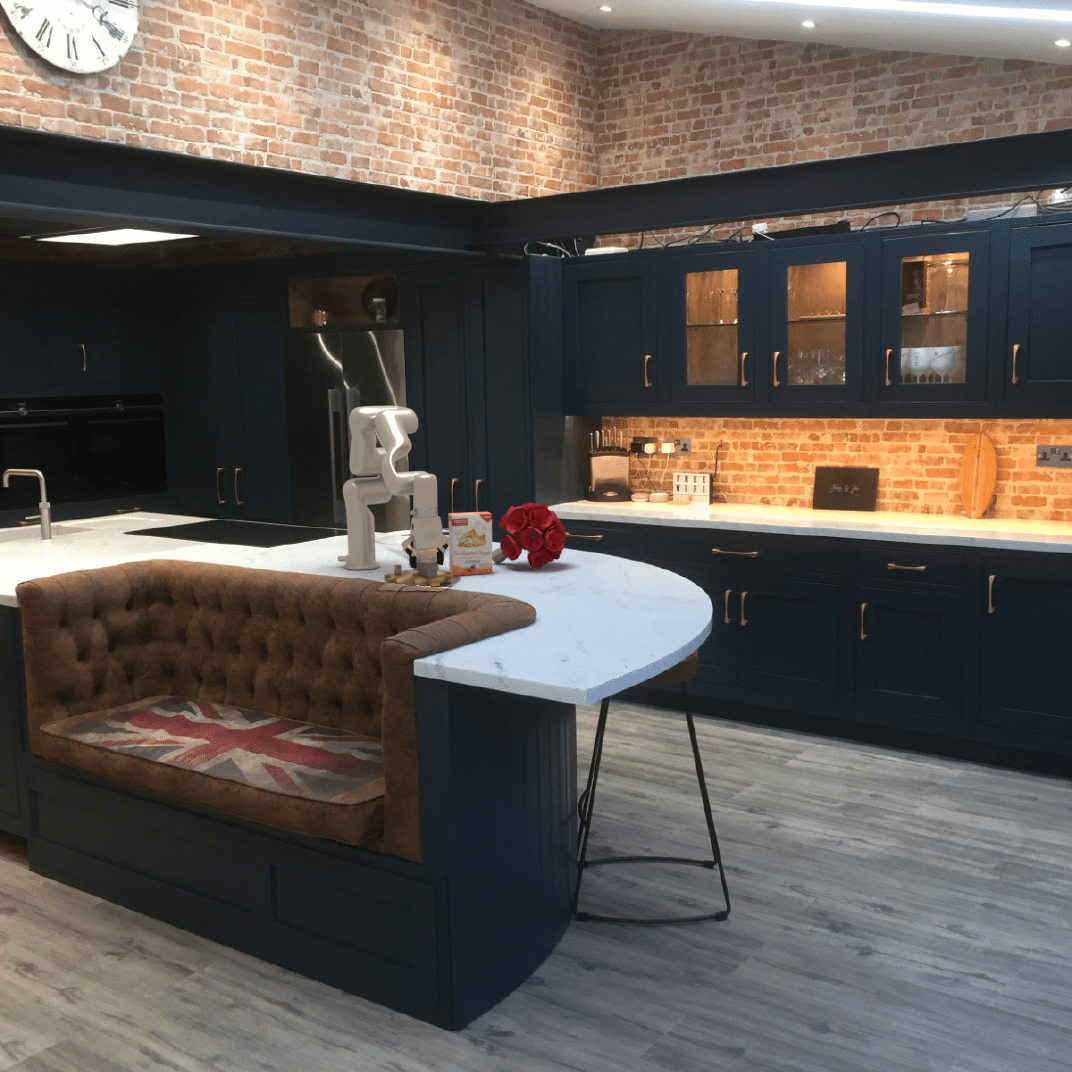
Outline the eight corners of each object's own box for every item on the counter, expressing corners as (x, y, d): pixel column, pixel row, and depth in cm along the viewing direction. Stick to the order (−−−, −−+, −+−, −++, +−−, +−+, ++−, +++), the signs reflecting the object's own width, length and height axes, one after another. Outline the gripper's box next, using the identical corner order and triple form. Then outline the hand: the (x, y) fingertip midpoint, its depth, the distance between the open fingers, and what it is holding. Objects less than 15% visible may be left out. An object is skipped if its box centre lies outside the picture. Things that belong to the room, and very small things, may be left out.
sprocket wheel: (375, 587, 370) (374, 570, 369) (396, 574, 391) (395, 559, 391) (443, 588, 366) (442, 571, 365) (460, 575, 387) (460, 560, 387)
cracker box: (452, 576, 393) (451, 514, 390) (449, 573, 399) (447, 512, 396) (493, 574, 397) (492, 512, 394) (489, 571, 403) (488, 510, 400)
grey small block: (418, 576, 375) (417, 560, 374) (428, 575, 377) (427, 559, 376) (427, 578, 370) (427, 562, 369) (437, 577, 372) (436, 561, 371)
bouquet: (487, 589, 406) (549, 551, 390) (462, 527, 411) (523, 488, 395) (525, 583, 424) (586, 548, 407) (500, 525, 429) (560, 487, 412)
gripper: (407, 516, 363) (408, 571, 365) (455, 512, 372) (456, 565, 375) (395, 514, 369) (397, 567, 371) (443, 509, 378) (444, 561, 381)
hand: (426, 566), depth 373 cm, fingers open, 9 cm apart
